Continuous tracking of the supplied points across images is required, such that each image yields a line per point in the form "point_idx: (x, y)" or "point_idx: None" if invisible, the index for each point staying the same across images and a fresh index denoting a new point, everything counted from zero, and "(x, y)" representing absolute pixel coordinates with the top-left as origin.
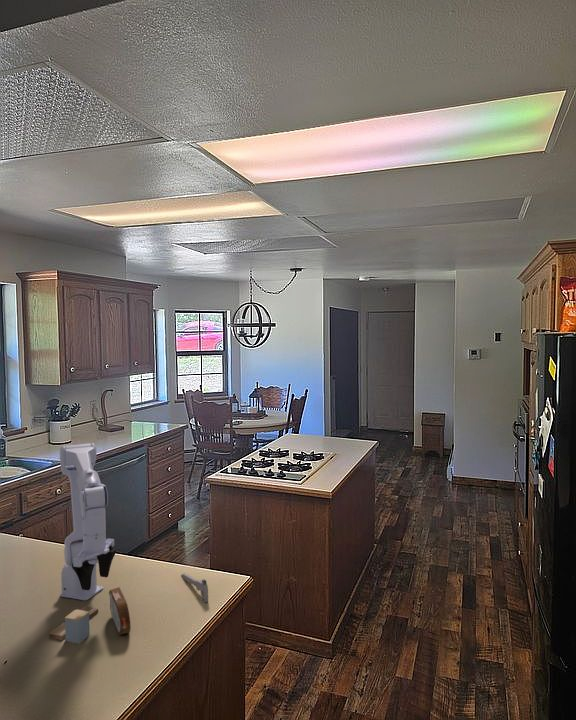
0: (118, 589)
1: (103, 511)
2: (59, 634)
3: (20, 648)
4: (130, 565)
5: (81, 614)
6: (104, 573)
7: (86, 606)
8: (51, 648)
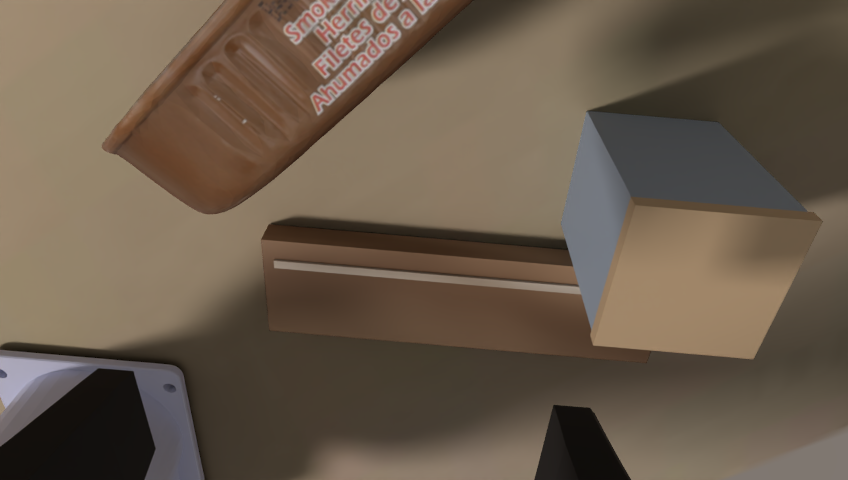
0: (202, 77)
1: None
2: None
3: (759, 414)
4: None
5: (700, 250)
6: (111, 447)
7: (269, 325)
8: None
